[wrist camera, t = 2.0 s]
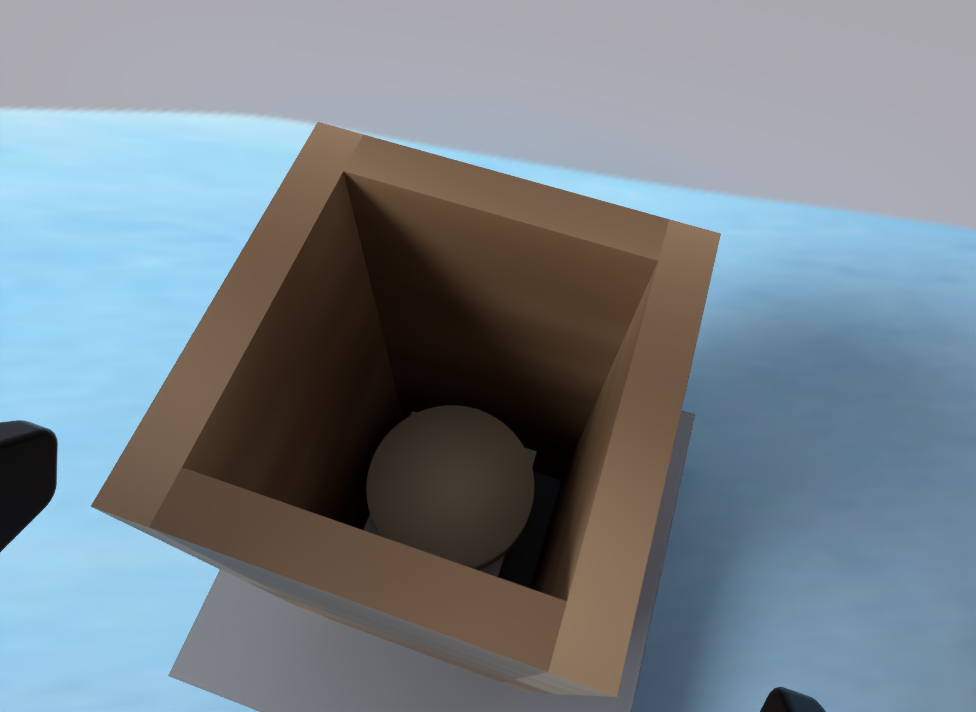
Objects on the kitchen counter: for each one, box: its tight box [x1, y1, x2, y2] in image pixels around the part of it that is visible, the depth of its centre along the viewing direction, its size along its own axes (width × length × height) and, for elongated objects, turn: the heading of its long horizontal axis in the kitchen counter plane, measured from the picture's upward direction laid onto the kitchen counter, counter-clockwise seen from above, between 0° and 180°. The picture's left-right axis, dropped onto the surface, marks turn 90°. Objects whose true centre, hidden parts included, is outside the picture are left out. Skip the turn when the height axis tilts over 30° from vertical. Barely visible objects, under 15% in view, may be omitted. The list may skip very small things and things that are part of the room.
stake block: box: [168, 405, 695, 712], centre depth 15 cm, size 9×9×7 cm
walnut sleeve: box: [91, 122, 721, 697], centre depth 11 cm, size 6×5×9 cm
